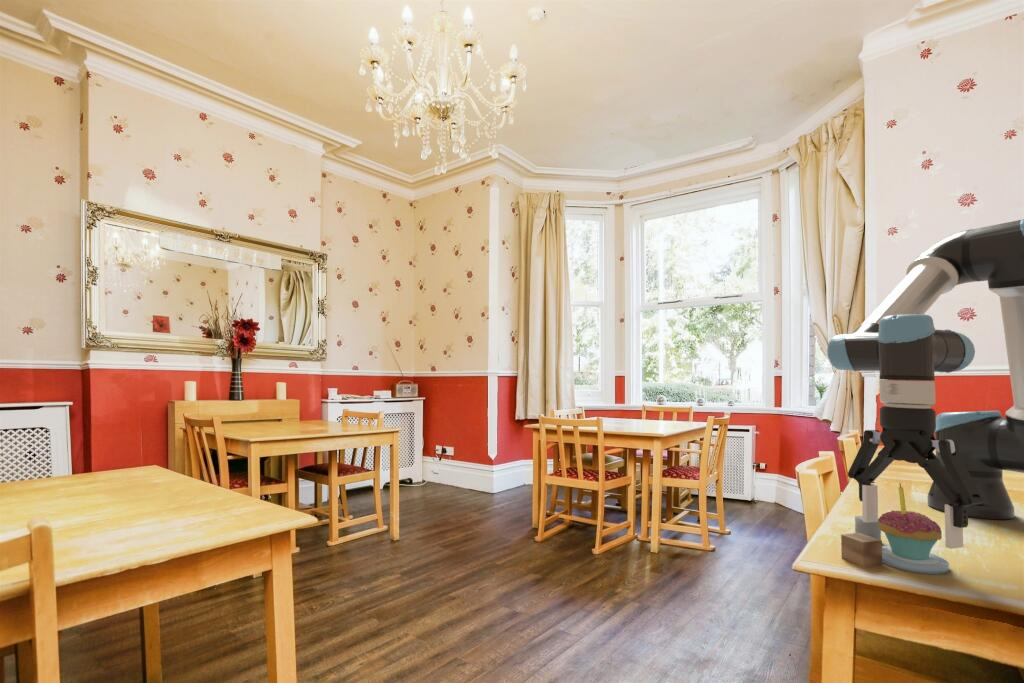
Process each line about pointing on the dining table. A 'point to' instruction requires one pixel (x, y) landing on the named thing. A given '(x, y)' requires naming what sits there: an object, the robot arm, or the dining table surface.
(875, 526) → the grey cylinder
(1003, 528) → the dining table surface
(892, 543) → the cupcake
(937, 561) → the saucer
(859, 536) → the walnut block
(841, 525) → the dining table surface
